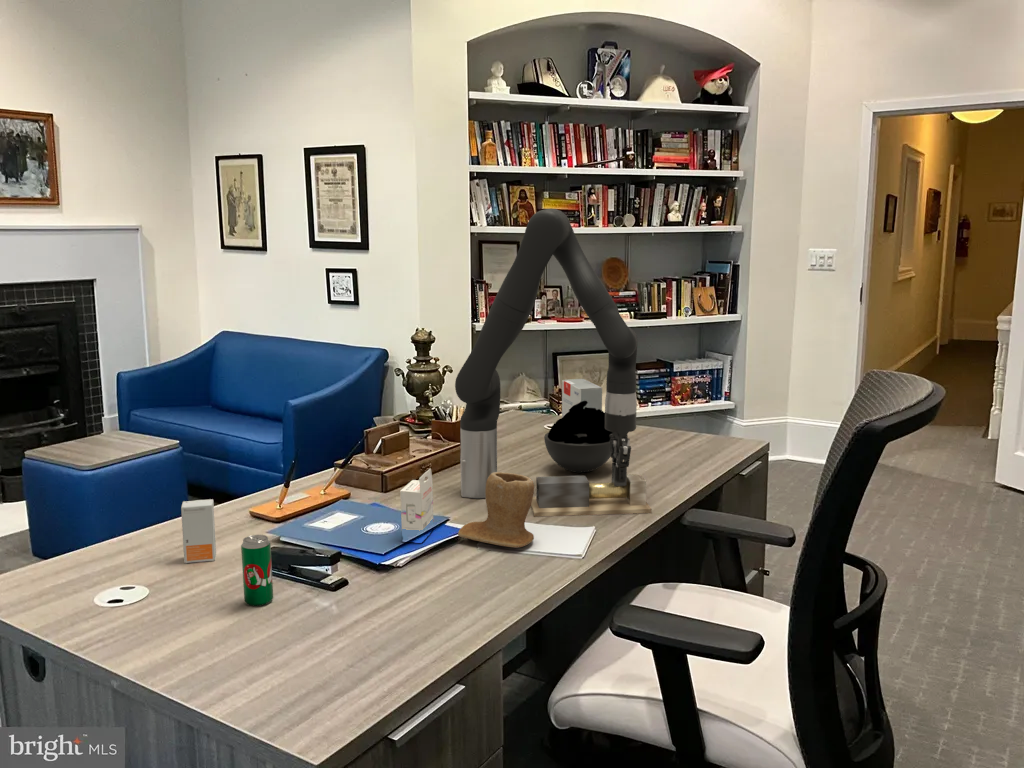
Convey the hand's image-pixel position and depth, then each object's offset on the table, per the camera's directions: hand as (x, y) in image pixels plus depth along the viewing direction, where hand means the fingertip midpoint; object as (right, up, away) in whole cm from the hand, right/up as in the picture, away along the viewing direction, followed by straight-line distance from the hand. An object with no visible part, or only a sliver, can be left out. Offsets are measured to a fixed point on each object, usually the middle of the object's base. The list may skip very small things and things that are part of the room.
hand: (619, 479), depth 208 cm
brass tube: (-3, -5, +1) cm, 6 cm away
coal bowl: (-7, -1, +31) cm, 32 cm away
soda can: (-72, -16, -52) cm, 90 cm away
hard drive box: (-5, +4, +59) cm, 59 cm away
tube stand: (-7, -7, +1) cm, 10 cm away
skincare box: (-90, -13, -32) cm, 96 cm away
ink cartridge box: (-47, -11, -20) cm, 52 cm away
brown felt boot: (-28, -11, -22) cm, 38 cm away
